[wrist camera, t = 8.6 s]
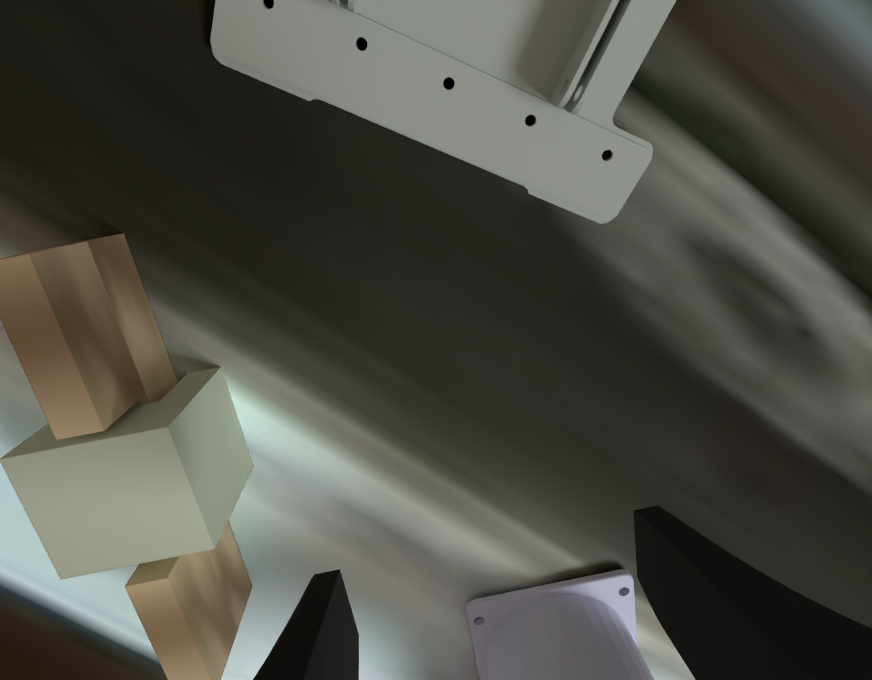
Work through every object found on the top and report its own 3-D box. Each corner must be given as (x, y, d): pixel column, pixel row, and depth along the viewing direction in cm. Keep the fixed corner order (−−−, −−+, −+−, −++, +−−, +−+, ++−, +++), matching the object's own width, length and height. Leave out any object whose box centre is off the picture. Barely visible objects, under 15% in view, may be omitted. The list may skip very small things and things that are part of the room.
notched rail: (252, 586, 23) (216, 692, 18) (221, 592, 23) (177, 700, 18) (123, 233, 18) (28, 254, 13) (84, 240, 18) (-26, 264, 13)
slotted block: (253, 465, 21) (214, 548, 17) (134, 488, 21) (60, 579, 17) (221, 366, 20) (167, 426, 15) (92, 391, 20) (-2, 459, 15)
